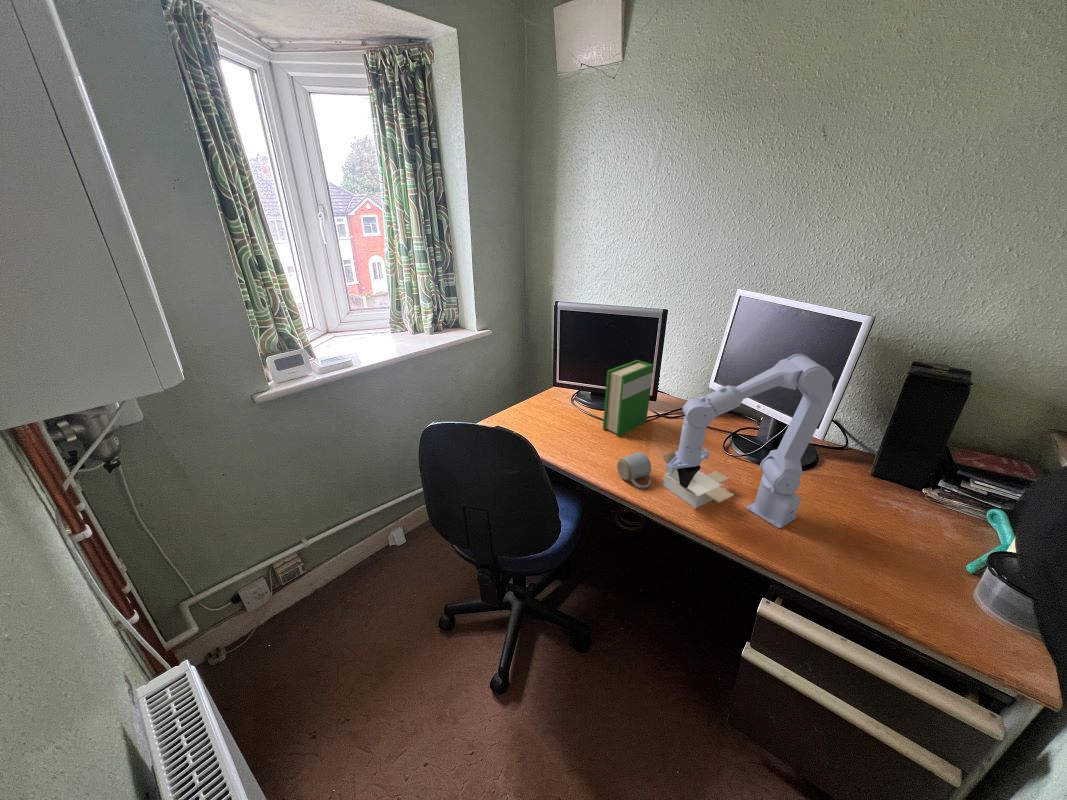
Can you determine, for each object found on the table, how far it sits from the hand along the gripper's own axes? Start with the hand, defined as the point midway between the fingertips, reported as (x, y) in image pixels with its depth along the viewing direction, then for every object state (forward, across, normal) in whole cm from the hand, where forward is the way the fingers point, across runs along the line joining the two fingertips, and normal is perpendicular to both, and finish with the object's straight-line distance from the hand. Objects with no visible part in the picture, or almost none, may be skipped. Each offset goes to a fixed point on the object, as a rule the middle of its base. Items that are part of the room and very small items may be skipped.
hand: (683, 486), depth 110 cm
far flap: (+1, -9, -11) cm, 14 cm away
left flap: (+1, -1, 0) cm, 1 cm away
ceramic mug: (+7, +2, -16) cm, 17 cm away
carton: (+7, -10, -1) cm, 12 cm away
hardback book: (+7, -19, -43) cm, 48 cm away
